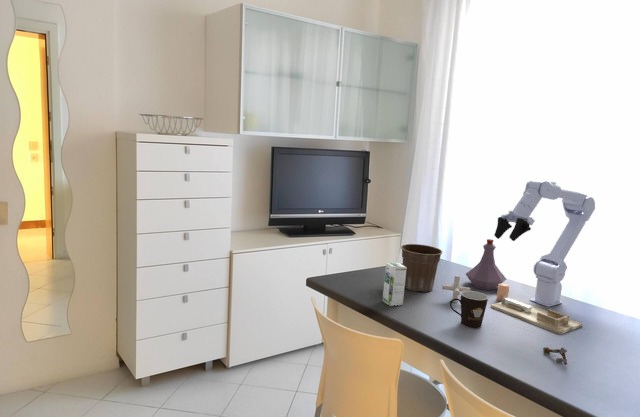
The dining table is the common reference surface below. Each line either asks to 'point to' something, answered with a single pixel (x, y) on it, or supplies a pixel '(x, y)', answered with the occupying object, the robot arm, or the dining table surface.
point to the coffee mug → (471, 308)
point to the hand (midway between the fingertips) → (503, 238)
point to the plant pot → (420, 266)
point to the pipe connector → (455, 288)
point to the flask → (486, 270)
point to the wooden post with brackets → (561, 351)
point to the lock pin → (517, 304)
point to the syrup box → (394, 284)
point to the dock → (540, 317)
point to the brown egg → (502, 291)
